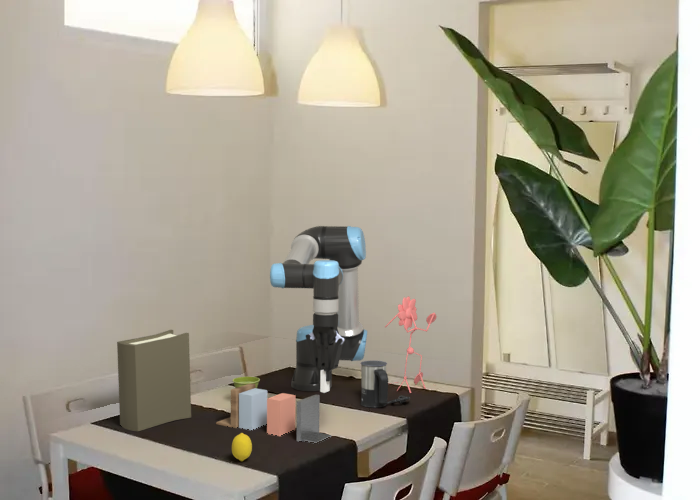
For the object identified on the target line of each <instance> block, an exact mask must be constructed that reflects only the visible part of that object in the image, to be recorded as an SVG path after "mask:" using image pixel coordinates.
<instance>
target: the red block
mask: <svg viewBox="0 0 700 500" xmlns="http://www.w3.org/2000/svg"><path fill="white" fill-rule="evenodd" d="M296 412H297V400H296V394H295V395H294V394H290V393H285V392H282V393H279V394H277V395H273V396H271V397H267V425H266V434H267V433H268V434H267V435H271V434H273V435H272V436H275V435H277V436H276V437H282V436H281V435H283V434H285V433H287V434H289V433H291V432H290V431H292V430H294V431H296ZM288 432H289V433H288ZM292 432H293V431H292ZM285 435H286V434H285ZM283 436H284V435H283Z"/></svg>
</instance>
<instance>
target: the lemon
mask: <svg viewBox="0 0 700 500" xmlns="http://www.w3.org/2000/svg"><path fill="white" fill-rule="evenodd" d="M252 451H253V444H252V440H251V438H250V436H248V435H247V434H244V433H243V432H240V433H239V434H236V436H234V438H233V440H232V443H231V453H232V455H233V457H234V458H236V459H237V460H239V461H240V462H244V461H245V460H246V459H248V458H249V457H250V456H251V453H252Z"/></svg>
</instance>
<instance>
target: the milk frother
mask: <svg viewBox="0 0 700 500" xmlns="http://www.w3.org/2000/svg"><path fill="white" fill-rule="evenodd" d="M360 364H361V366H360V367H361V375H360V376H361V377H360V378H361V381H360V383H361V387H360V388H361V392H360V393H361V396H360V406H362V407H365V408H382V407H385V406H387V405H389V404H392V403H393V404H394V403H397V402H399V403H400V404H405V402H407V401H408V400H410V399H411V396H405V395H399V396H398V398H395V399H392V400H390V401H388V395H389V376H388V373H387V365H388V363H387V362H386V361H383V360H363V361H361V362H360Z"/></svg>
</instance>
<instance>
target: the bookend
mask: <svg viewBox="0 0 700 500" xmlns="http://www.w3.org/2000/svg"><path fill="white" fill-rule="evenodd" d="M320 397H321V396H320V394H314V395H311V396H308V397H305V398H302V399H300V400H298V401H297V400H296V442H299V441H302V442H305V441H308V442H307V443H310V442H314V443H317V442H319V441H322V440H324V439H326V438H328V437H330V438H332V435H331V434H327V433H323V432H320V411H321V410H320V408H321V407H320V404H321V403H320V400H321V399H320ZM328 439H329V438H328ZM326 440H327V439H326ZM324 441H325V440H324ZM322 442H323V441H322ZM314 443H313V444H314Z"/></svg>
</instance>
